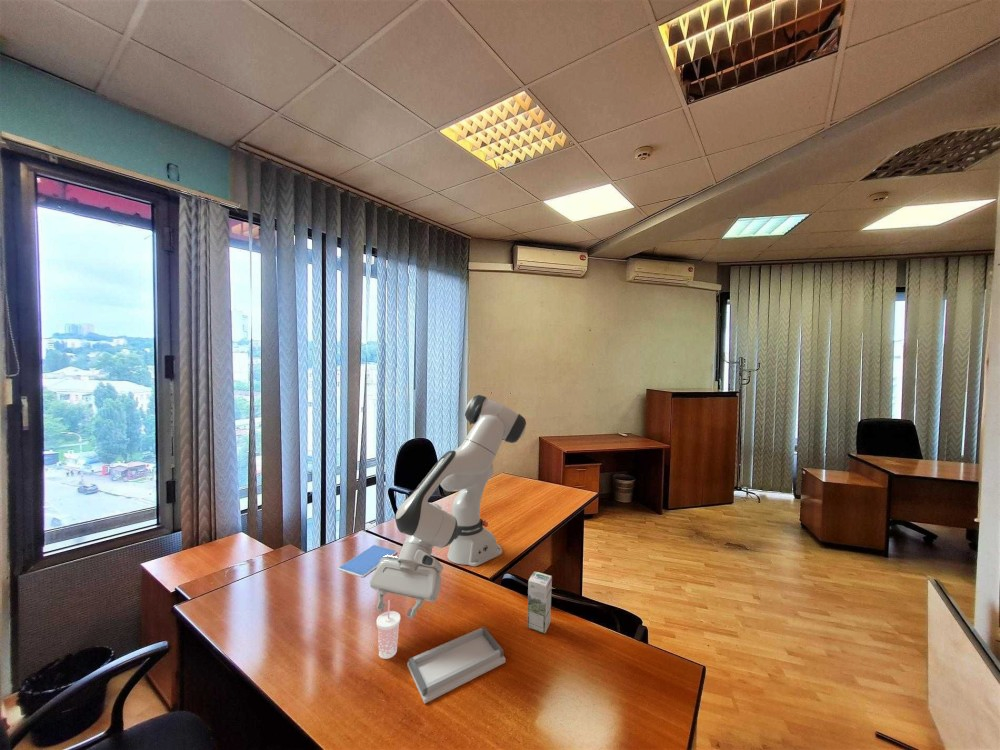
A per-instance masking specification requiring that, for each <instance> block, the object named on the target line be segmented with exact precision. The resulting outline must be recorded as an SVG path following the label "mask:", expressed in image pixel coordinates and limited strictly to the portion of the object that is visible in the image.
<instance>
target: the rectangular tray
mask: <svg viewBox="0 0 1000 750" xmlns="http://www.w3.org/2000/svg"><path fill="white" fill-rule="evenodd" d="M406 662H407V663H406V664H407V668H408V670H409V672H410V675H411V676H412V679H413V681H414V684H415V686H416V688H417V690H418V692H419V695H420V697H421V700H422V702H423V703H424V704H427V703H429V702H431V701H433V700H435V699H436V698H439V697H441V696H442V695H444V694H447V693H448V692H451V691H453V690H454V689H456V688H459V687H460V686H462V685H465V684H466V683H468V682H470V681H472V680H473V679H476V678H477V677H479V676H482V675H483V674H486V673H487V672H489V671H491V670H493V669H495V668H497V667H499V666H501V665H503V664H506V657H505V656H504V649H503V648H502V646H501V645H500V644H499V643H498V641H497V640H496V638H494V636H493V635H492V634H491V633H490V632H489V630H488V629H487V627H485V626H482V627H479V628H478V629H475V630H473V631H471V632H468V633H466V634H464V635H461V636H459V637H457V638H456V637H455V638H454V639H451V640H450V641H448V642H445V643H442V644H440V645H438V646H436V647H433V648H431V649H429V650H426V651H423V652H421V653H420V654H417V655H415V656H412V657H410V658H408V661H406Z"/></svg>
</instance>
